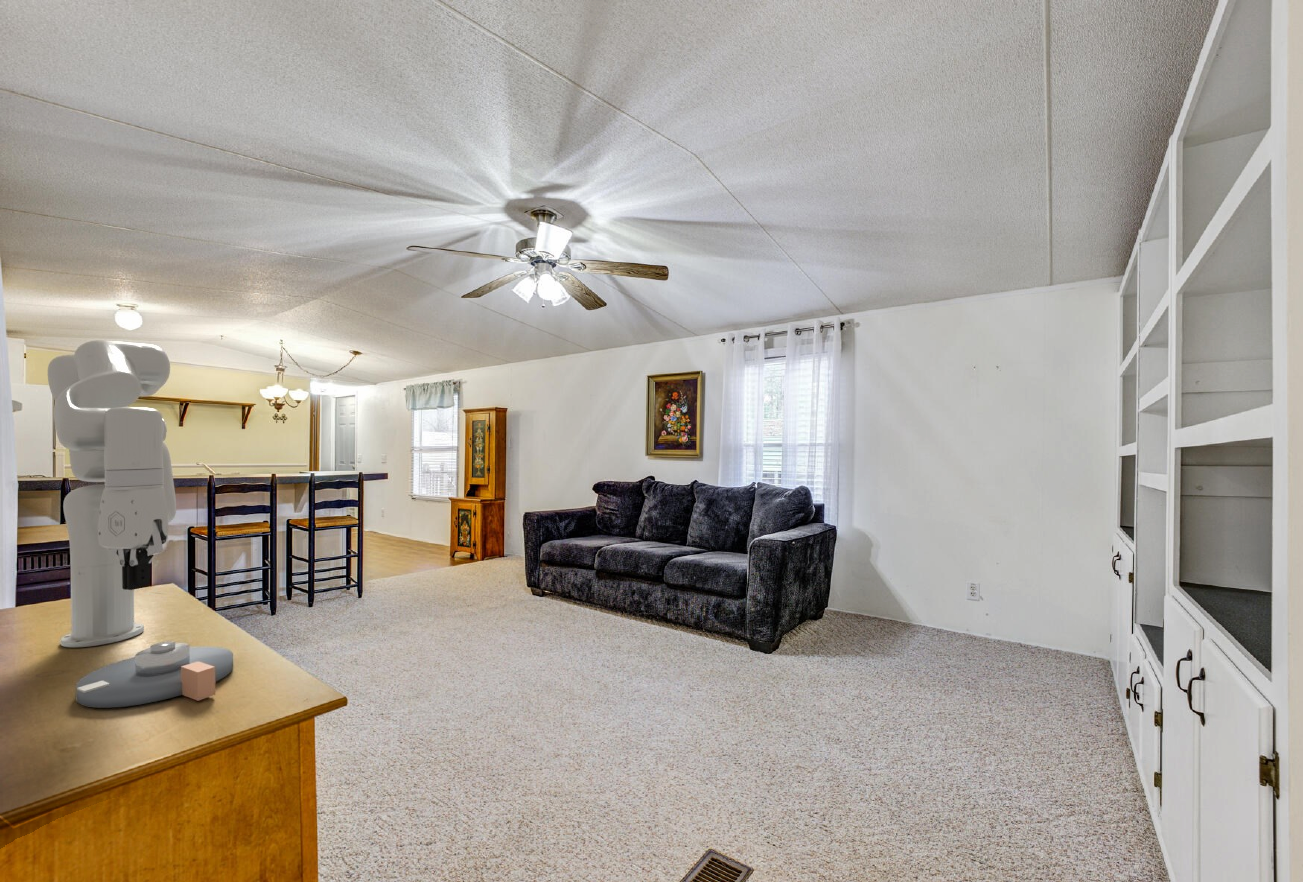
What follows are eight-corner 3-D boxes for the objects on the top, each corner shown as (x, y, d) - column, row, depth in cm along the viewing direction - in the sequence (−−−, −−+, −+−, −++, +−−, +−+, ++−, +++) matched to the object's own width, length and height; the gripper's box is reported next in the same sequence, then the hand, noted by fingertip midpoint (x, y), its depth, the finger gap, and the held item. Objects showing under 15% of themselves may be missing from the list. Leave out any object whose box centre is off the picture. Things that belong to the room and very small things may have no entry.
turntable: (53, 691, 94) (53, 664, 93) (197, 650, 111) (196, 627, 111) (125, 726, 82) (125, 695, 82) (273, 674, 100) (272, 648, 100)
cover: (126, 672, 96) (126, 648, 96) (176, 657, 102) (175, 635, 102) (149, 680, 93) (148, 655, 93) (198, 664, 99) (198, 641, 99)
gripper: (77, 481, 98) (78, 591, 98) (142, 481, 94) (144, 596, 94) (127, 478, 105) (129, 580, 105) (190, 478, 101) (192, 584, 101)
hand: (136, 587), depth 99 cm, fingers closed
